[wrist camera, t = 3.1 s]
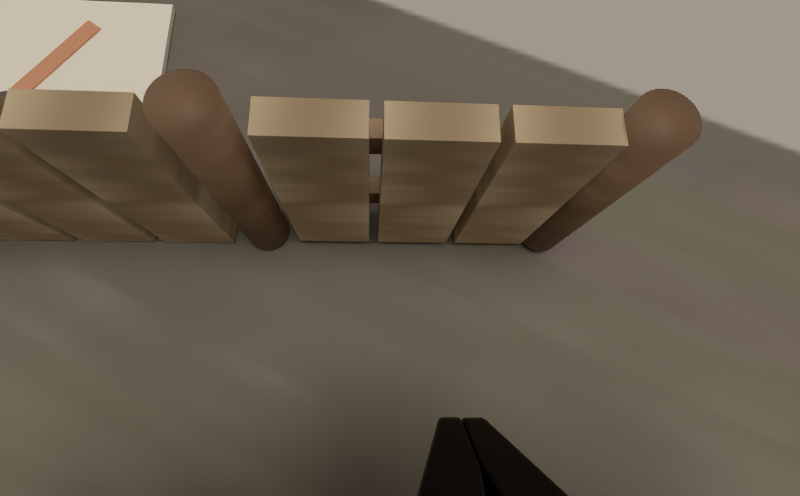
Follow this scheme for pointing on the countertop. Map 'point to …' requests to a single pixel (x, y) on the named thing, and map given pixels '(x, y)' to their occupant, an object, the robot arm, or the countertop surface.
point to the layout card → (83, 45)
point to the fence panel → (461, 165)
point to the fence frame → (132, 167)
